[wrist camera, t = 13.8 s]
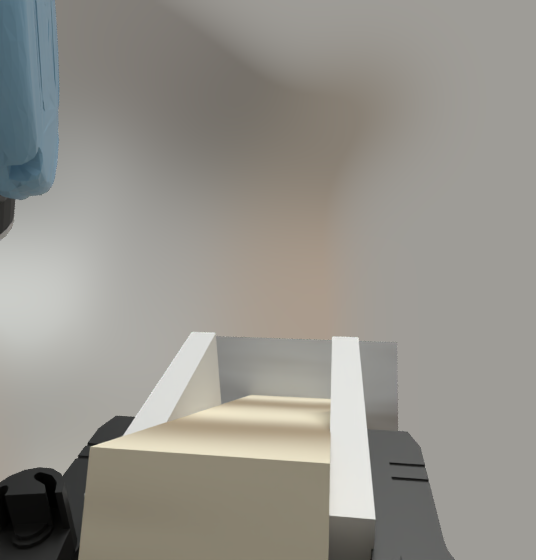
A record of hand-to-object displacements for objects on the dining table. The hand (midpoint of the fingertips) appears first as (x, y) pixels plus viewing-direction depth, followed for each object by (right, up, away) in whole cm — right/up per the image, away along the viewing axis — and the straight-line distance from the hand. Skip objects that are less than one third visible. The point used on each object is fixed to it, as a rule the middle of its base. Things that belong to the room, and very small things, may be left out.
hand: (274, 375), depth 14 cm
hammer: (0, -5, +1) cm, 5 cm away
